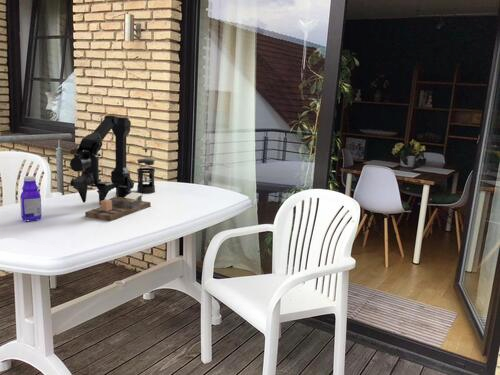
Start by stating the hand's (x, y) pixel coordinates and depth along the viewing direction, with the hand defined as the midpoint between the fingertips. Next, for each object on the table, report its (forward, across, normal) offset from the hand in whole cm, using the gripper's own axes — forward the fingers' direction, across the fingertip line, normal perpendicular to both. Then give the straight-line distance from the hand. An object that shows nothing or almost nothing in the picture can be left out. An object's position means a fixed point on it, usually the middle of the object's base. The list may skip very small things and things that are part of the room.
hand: (92, 203), depth 194 cm
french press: (+4, -5, +47) cm, 47 cm away
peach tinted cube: (+2, +7, 0) cm, 8 cm away
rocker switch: (0, +8, +18) cm, 20 cm away
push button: (+2, +8, +11) cm, 14 cm away
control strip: (+4, +8, +8) cm, 12 cm away
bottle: (+4, -13, -20) cm, 24 cm away
